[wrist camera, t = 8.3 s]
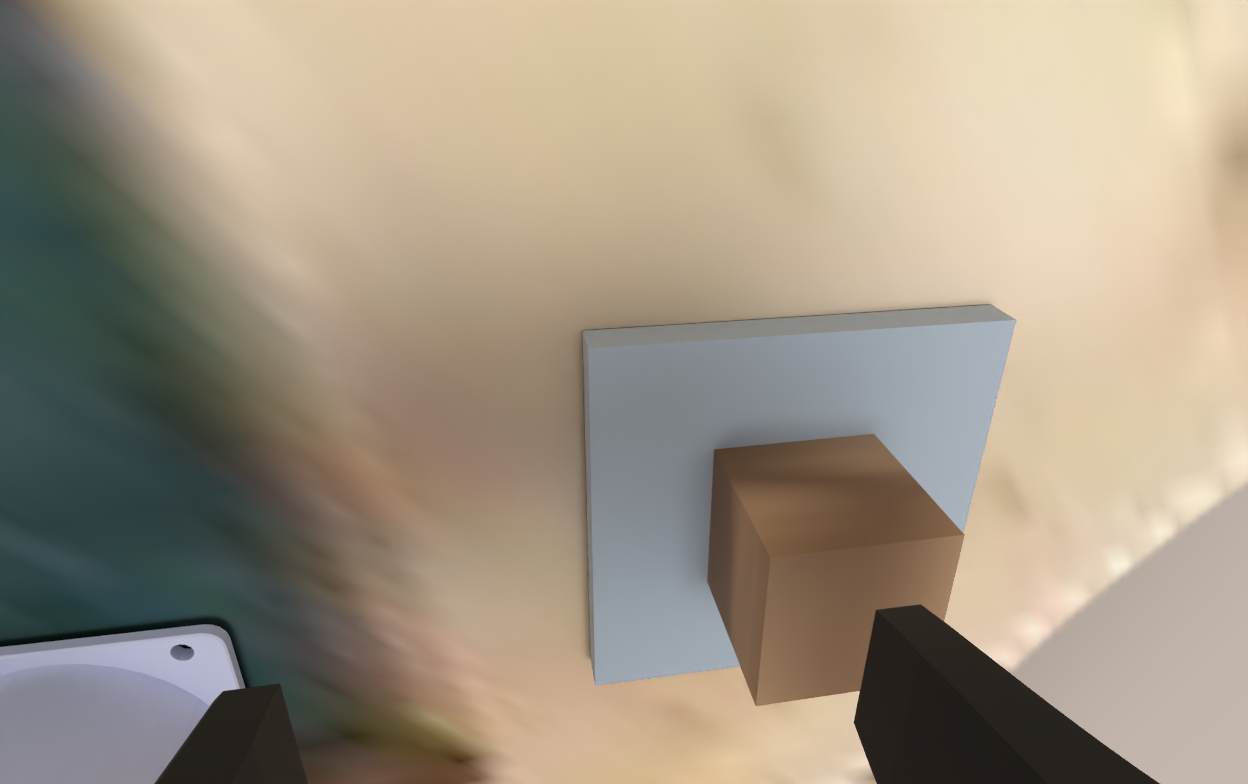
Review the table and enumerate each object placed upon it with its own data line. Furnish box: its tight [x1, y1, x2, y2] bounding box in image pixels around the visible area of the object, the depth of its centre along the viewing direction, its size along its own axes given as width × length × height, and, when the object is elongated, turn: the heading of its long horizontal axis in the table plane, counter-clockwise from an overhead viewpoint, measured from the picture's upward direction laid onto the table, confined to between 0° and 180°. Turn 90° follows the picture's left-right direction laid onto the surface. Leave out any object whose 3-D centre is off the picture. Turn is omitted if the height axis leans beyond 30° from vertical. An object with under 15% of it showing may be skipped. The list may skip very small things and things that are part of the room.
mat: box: [583, 305, 1016, 686], centre depth 20 cm, size 10×10×1 cm
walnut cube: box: [707, 434, 964, 706], centre depth 18 cm, size 4×4×4 cm
